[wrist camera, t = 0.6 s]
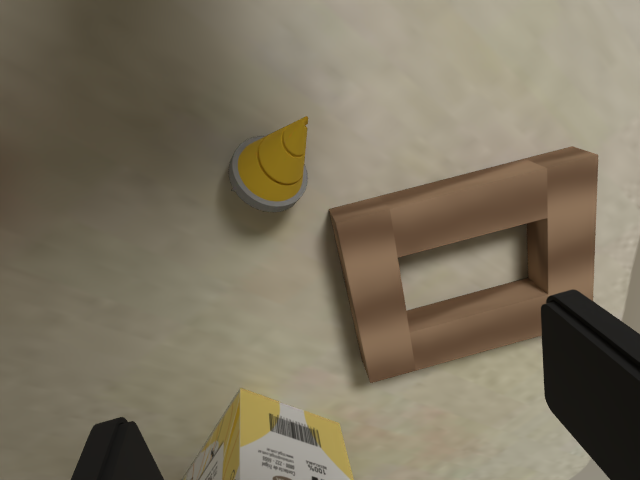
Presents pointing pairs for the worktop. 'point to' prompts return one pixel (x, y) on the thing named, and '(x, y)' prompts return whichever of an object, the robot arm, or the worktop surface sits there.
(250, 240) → the worktop surface
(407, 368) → the walnut socket block
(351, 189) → the worktop surface
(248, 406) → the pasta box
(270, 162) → the yellow stepped cone
